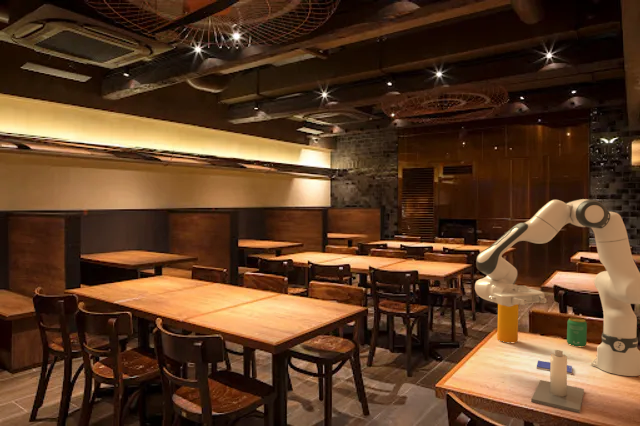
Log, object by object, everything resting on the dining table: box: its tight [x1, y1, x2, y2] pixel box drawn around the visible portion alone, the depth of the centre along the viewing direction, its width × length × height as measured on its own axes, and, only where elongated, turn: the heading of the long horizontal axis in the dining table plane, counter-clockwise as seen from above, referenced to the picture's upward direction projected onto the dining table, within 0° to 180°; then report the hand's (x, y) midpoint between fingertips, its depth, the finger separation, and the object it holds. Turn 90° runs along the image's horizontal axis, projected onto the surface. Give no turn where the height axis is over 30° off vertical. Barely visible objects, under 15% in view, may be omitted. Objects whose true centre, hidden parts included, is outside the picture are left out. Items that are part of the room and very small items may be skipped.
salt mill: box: [549, 349, 568, 397], centre depth 156 cm, size 5×5×15 cm
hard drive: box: [536, 360, 573, 375], centre depth 184 cm, size 2×8×12 cm
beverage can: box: [566, 317, 588, 347], centre depth 215 cm, size 8×8×12 cm
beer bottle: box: [496, 304, 520, 343], centre depth 220 cm, size 9×9×29 cm
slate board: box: [531, 379, 585, 414], centre depth 156 cm, size 20×14×1 cm
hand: (535, 301), depth 167 cm, fingers open, 8 cm apart
